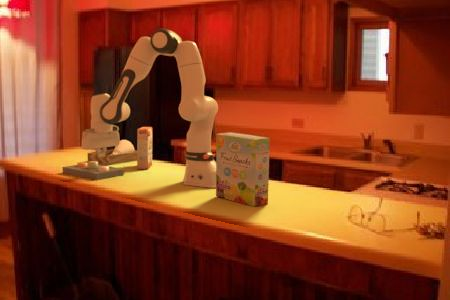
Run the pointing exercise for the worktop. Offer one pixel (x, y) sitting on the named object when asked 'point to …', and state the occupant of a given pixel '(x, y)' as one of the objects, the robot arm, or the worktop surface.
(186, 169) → the robot arm
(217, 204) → the worktop surface
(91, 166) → the sage button
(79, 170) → the panel
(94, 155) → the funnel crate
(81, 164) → the terracotta button
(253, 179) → the snack box
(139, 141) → the cracker box
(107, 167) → the ivory button
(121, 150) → the cream teardrop
